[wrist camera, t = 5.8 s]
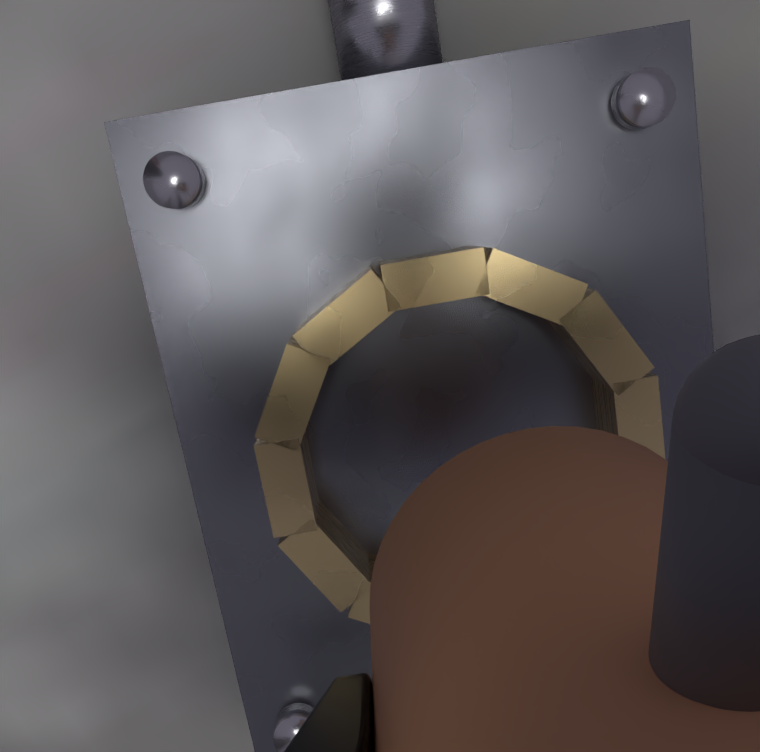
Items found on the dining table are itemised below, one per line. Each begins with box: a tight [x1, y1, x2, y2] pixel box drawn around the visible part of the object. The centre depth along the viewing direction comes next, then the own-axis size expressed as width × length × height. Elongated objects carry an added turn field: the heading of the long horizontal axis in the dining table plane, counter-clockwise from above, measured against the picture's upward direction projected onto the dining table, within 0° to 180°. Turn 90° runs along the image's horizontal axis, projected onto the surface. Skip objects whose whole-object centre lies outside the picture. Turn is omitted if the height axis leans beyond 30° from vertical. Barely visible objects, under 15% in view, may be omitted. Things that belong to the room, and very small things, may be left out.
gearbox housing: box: [104, 0, 714, 752], centre depth 17 cm, size 20×13×4 cm, turn 10°
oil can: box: [370, 335, 760, 752], centre depth 6 cm, size 7×5×7 cm
